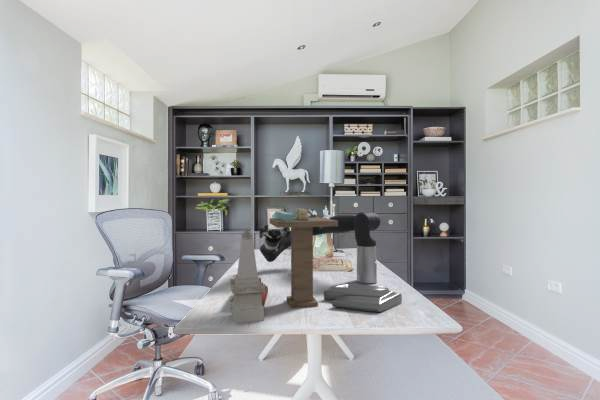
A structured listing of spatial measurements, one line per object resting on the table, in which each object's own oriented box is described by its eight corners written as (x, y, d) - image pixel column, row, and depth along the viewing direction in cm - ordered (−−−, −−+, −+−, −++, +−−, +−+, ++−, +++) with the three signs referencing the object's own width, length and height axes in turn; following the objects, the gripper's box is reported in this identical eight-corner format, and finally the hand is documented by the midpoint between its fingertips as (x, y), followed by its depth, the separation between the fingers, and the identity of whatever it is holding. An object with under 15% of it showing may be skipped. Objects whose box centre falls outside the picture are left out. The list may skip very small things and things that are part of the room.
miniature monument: (265, 321, 113) (265, 229, 113) (233, 324, 110) (232, 230, 110) (260, 311, 123) (260, 227, 123) (230, 313, 120) (230, 227, 120)
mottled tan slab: (300, 277, 189) (355, 276, 189) (300, 266, 189) (355, 264, 188) (301, 264, 217) (349, 262, 217) (301, 254, 217) (349, 252, 216)
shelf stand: (269, 296, 141) (269, 208, 140) (322, 293, 145) (321, 208, 145) (277, 314, 119) (276, 210, 119) (338, 310, 124) (338, 209, 123)
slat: (275, 217, 150) (275, 211, 150) (282, 216, 151) (281, 211, 151) (285, 221, 123) (285, 214, 123) (293, 221, 123) (293, 214, 123)
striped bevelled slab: (339, 301, 117) (318, 282, 144) (339, 317, 117) (318, 295, 144) (414, 296, 123) (380, 278, 150) (414, 311, 123) (380, 291, 150)
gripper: (287, 246, 171) (292, 233, 158) (258, 247, 168) (261, 234, 155) (285, 232, 175) (290, 218, 161) (257, 233, 172) (260, 219, 158)
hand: (276, 226), depth 158 cm, fingers open, 8 cm apart
